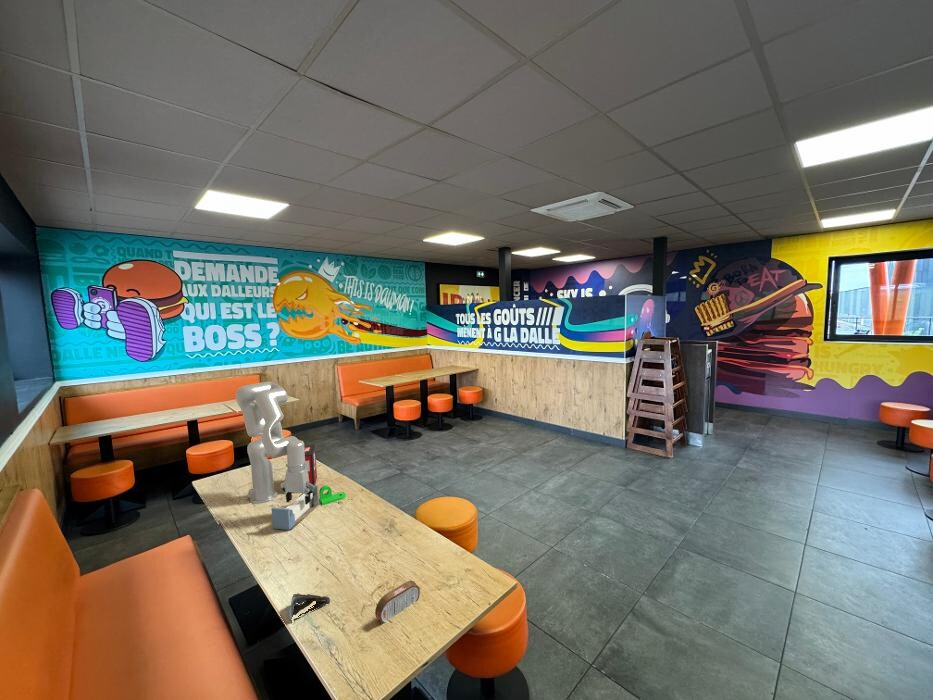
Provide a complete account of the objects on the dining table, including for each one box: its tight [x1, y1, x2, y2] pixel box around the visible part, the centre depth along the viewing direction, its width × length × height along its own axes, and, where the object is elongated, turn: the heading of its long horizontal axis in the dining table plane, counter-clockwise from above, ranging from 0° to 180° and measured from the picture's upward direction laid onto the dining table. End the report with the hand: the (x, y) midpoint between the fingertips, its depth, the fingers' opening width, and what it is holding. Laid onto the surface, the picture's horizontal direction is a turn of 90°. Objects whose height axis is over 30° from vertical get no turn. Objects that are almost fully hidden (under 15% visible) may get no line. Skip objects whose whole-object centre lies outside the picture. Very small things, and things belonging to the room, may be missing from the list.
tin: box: [374, 580, 421, 624], centre depth 116 cm, size 15×3×8 cm, turn 133°
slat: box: [285, 492, 313, 520], centre depth 175 cm, size 4×16×6 cm, turn 170°
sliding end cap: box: [271, 507, 295, 531], centre depth 164 cm, size 8×4×9 cm, turn 80°
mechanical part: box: [318, 484, 347, 506], centre depth 188 cm, size 12×6×8 cm, turn 124°
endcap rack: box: [272, 484, 322, 531], centre depth 173 cm, size 9×23×10 cm, turn 170°
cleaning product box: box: [304, 443, 318, 485], centre depth 205 cm, size 16×9×20 cm, turn 17°
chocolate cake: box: [288, 592, 331, 619], centre depth 118 cm, size 10×7×12 cm
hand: (298, 501), depth 175 cm, fingers open, 9 cm apart
